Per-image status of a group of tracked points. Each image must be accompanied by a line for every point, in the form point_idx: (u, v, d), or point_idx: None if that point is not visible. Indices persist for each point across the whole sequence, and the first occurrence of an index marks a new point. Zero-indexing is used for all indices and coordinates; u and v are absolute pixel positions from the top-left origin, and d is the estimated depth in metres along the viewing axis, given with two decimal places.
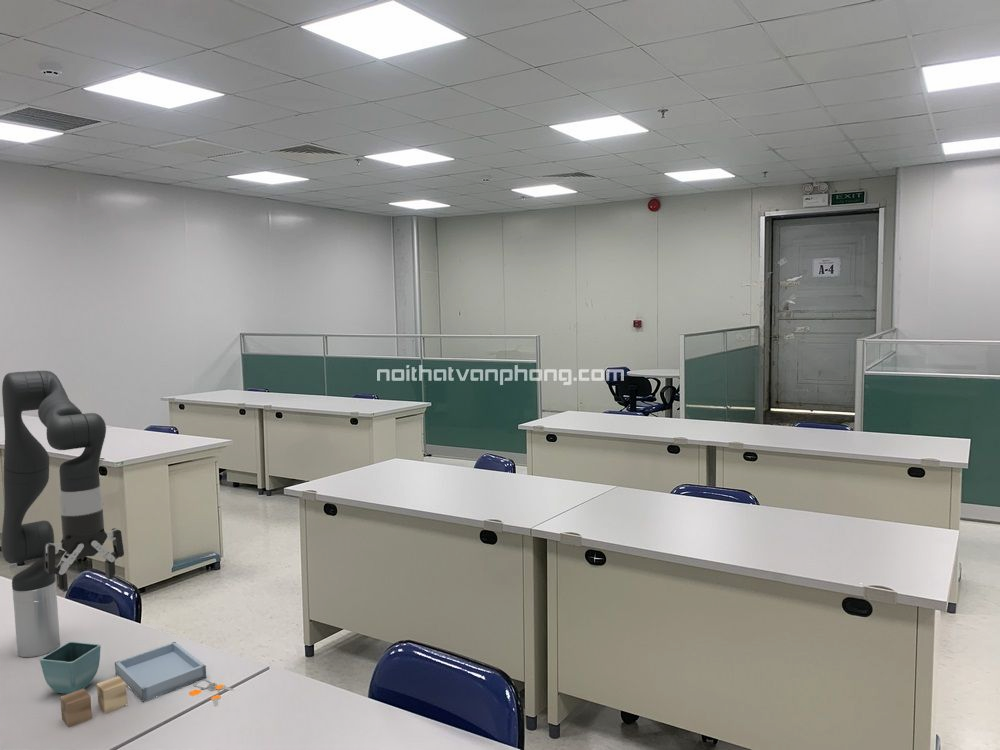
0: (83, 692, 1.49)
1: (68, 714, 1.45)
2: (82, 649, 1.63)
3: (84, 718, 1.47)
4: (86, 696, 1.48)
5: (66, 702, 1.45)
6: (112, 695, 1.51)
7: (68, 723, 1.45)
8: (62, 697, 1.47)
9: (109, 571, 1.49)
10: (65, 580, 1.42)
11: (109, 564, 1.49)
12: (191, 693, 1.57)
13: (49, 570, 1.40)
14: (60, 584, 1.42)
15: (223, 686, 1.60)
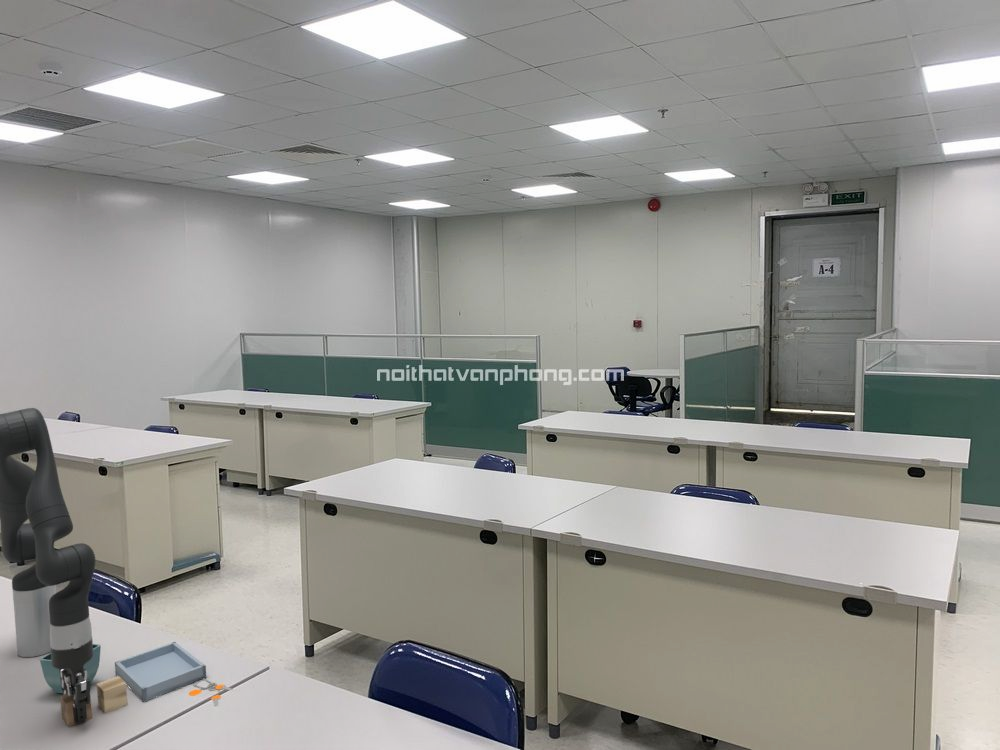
0: None
1: (68, 714, 1.45)
2: None
3: None
4: None
5: (66, 702, 1.45)
6: (112, 695, 1.51)
7: (68, 723, 1.45)
8: (62, 697, 1.47)
9: None
10: None
11: None
12: (191, 693, 1.57)
13: None
14: None
15: (223, 686, 1.60)
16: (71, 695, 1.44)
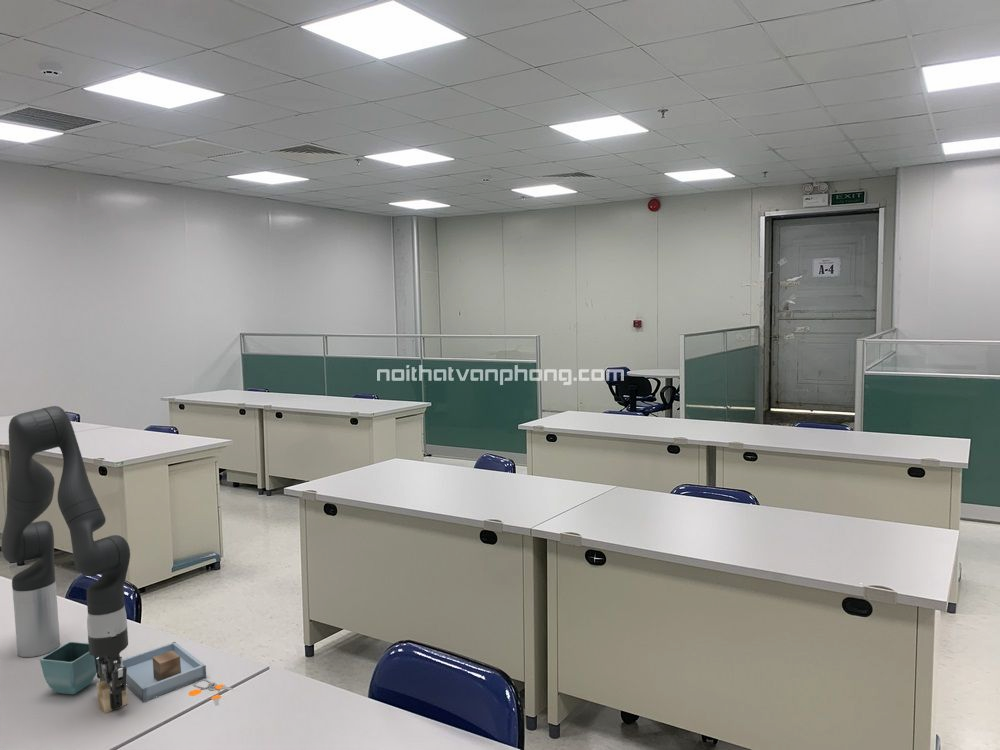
0: (161, 655, 1.63)
1: (180, 665, 1.62)
2: (82, 649, 1.63)
3: None
4: (171, 651, 1.64)
5: (175, 657, 1.62)
6: None
7: None
8: (162, 662, 1.59)
9: None
10: None
11: None
12: (191, 693, 1.57)
13: None
14: None
15: (223, 686, 1.60)
16: (108, 682, 1.49)
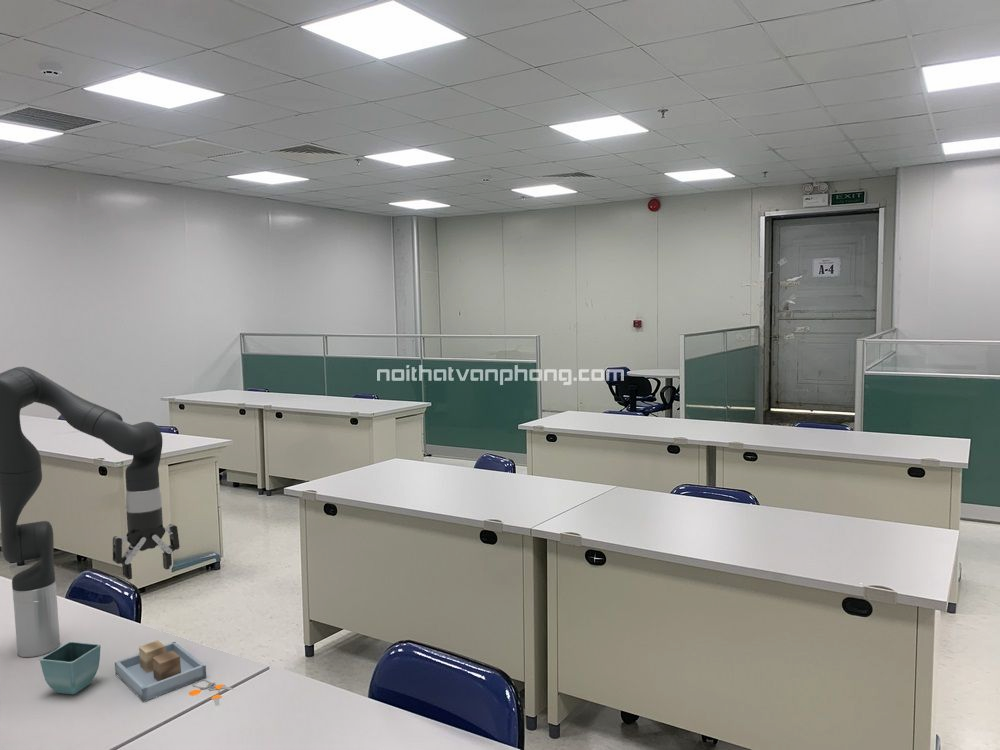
0: (161, 655, 1.63)
1: (180, 665, 1.62)
2: (82, 649, 1.63)
3: None
4: (171, 651, 1.64)
5: (175, 657, 1.62)
6: None
7: None
8: (162, 662, 1.59)
9: None
10: None
11: None
12: (191, 693, 1.57)
13: None
14: None
15: (223, 686, 1.60)
16: (166, 544, 1.67)
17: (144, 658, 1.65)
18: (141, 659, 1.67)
